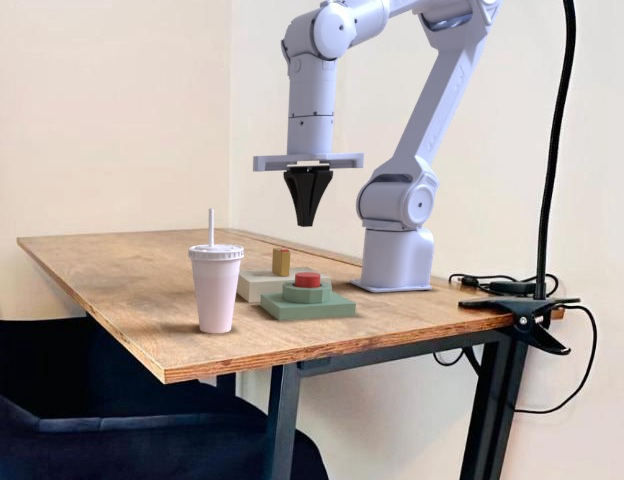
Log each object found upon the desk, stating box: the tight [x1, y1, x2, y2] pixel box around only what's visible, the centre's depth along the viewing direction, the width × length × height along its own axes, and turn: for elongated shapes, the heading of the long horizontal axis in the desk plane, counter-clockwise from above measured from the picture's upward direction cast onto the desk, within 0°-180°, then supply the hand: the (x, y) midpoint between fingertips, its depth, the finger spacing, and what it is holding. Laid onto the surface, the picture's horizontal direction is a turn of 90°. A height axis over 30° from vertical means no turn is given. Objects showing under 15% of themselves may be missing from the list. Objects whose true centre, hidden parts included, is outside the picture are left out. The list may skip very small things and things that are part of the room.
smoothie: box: [187, 208, 245, 334], centre depth 64 cm, size 6×6×14 cm
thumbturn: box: [271, 247, 291, 276], centre depth 81 cm, size 4×1×4 cm, turn 7°
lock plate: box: [236, 266, 332, 303], centre depth 82 cm, size 12×9×3 cm
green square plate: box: [259, 281, 357, 321], centre depth 72 cm, size 10×8×4 cm
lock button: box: [295, 272, 321, 288], centre depth 72 cm, size 3×3×2 cm
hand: (304, 226), depth 75 cm, fingers closed
